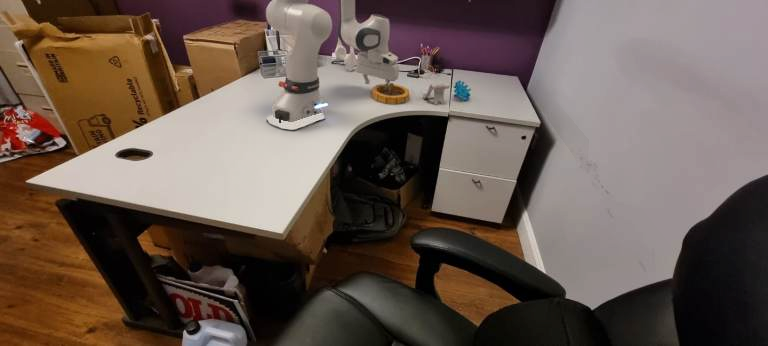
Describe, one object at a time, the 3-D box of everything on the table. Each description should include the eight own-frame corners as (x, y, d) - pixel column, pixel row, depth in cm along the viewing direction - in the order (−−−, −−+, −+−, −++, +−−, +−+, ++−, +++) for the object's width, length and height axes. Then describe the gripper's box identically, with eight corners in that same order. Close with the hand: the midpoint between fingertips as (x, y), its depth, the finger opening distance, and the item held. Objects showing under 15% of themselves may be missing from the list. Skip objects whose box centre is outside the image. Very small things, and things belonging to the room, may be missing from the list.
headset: (357, 71, 173) (359, 36, 163) (345, 72, 170) (345, 36, 160) (344, 60, 187) (344, 27, 177) (332, 61, 185) (332, 27, 174)
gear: (459, 100, 146) (453, 79, 147) (450, 105, 151) (444, 85, 152) (475, 99, 152) (469, 79, 153) (466, 104, 157) (460, 85, 158)
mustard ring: (398, 107, 138) (399, 100, 137) (365, 97, 144) (365, 91, 143) (414, 95, 151) (415, 89, 149) (383, 87, 157) (383, 81, 155)
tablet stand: (439, 96, 152) (442, 79, 147) (447, 103, 146) (451, 85, 141) (422, 98, 149) (425, 80, 144) (430, 104, 143) (433, 86, 138)
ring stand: (395, 102, 142) (396, 89, 139) (375, 97, 146) (376, 84, 142) (404, 96, 149) (406, 83, 146) (385, 90, 153) (386, 78, 150)
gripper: (353, 52, 142) (353, 82, 150) (395, 61, 135) (392, 93, 143) (361, 49, 147) (360, 79, 155) (401, 58, 140) (398, 89, 148)
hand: (376, 86), depth 149 cm, fingers open, 8 cm apart
